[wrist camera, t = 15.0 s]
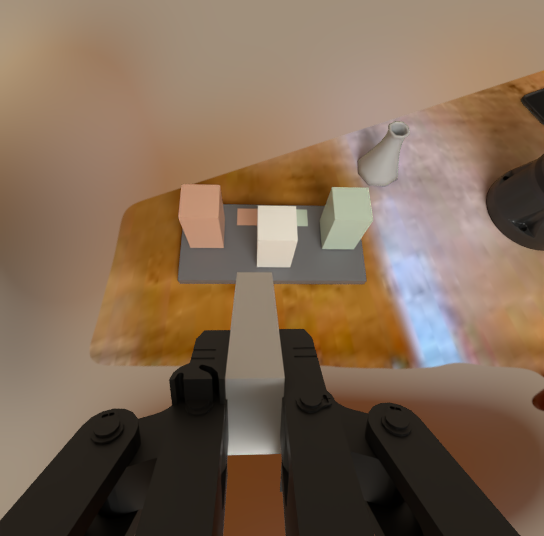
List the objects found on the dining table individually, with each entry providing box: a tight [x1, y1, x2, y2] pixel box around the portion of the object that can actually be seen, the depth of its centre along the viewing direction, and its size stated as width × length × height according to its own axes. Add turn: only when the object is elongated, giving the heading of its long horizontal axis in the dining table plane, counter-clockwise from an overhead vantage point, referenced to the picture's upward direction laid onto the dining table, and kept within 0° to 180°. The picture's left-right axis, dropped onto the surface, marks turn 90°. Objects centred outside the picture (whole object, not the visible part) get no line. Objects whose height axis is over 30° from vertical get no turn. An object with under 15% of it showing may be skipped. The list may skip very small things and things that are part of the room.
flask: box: [358, 121, 410, 186], centre depth 56 cm, size 7×7×10 cm
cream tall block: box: [257, 206, 298, 267], centre depth 47 cm, size 5×5×9 cm
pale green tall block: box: [320, 187, 373, 249], centre depth 49 cm, size 5×5×9 cm
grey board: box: [178, 204, 366, 284], centre depth 53 cm, size 28×13×2 cm, turn 91°
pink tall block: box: [178, 184, 225, 248], centre depth 48 cm, size 5×5×9 cm
